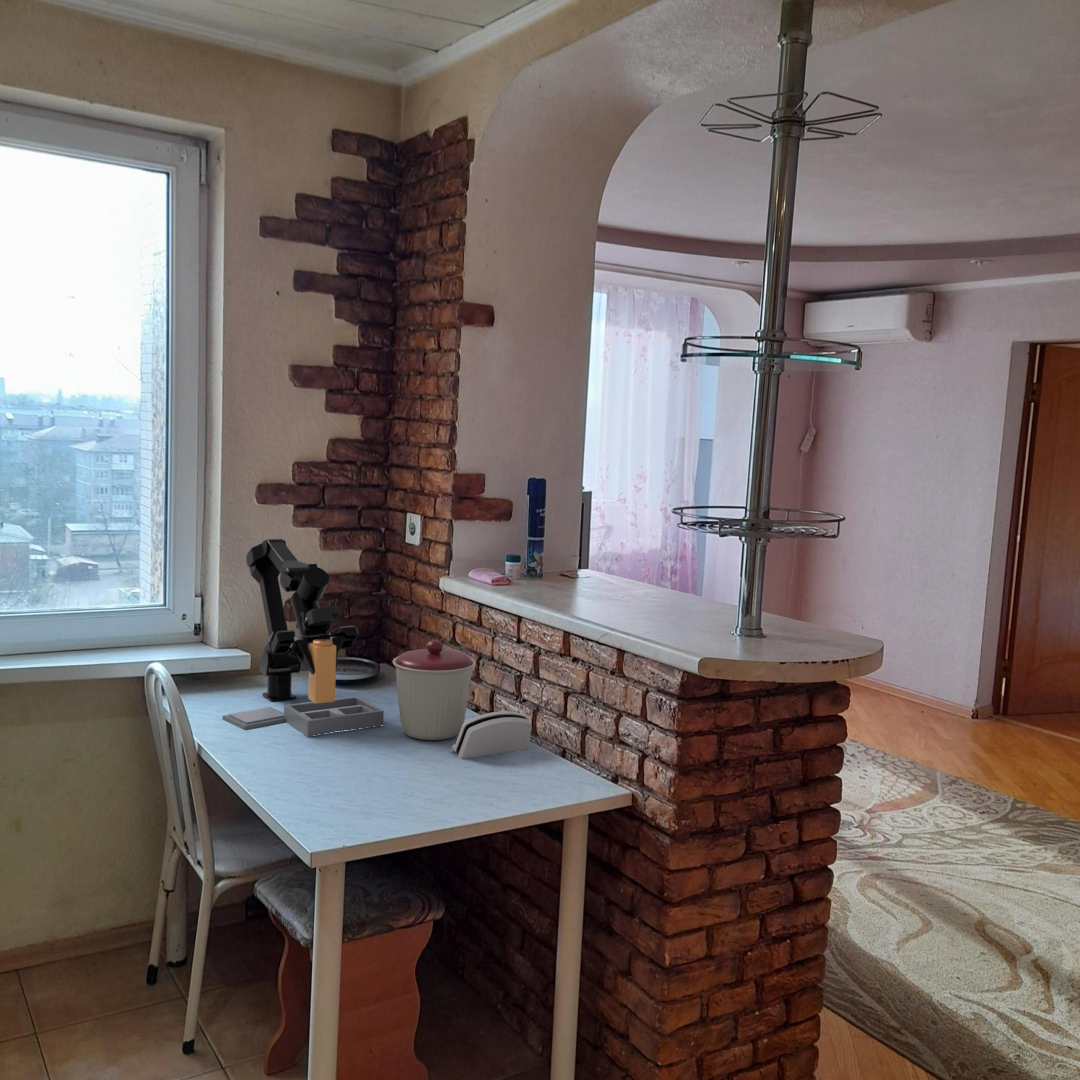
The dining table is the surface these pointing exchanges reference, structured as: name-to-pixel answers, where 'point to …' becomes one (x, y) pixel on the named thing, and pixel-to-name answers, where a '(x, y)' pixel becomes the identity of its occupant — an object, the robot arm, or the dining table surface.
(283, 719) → the lid
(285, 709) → the tray
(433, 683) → the canister
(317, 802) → the dining table surface
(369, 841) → the dining table surface
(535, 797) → the dining table surface
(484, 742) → the napkin holder
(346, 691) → the dining table surface
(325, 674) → the post
